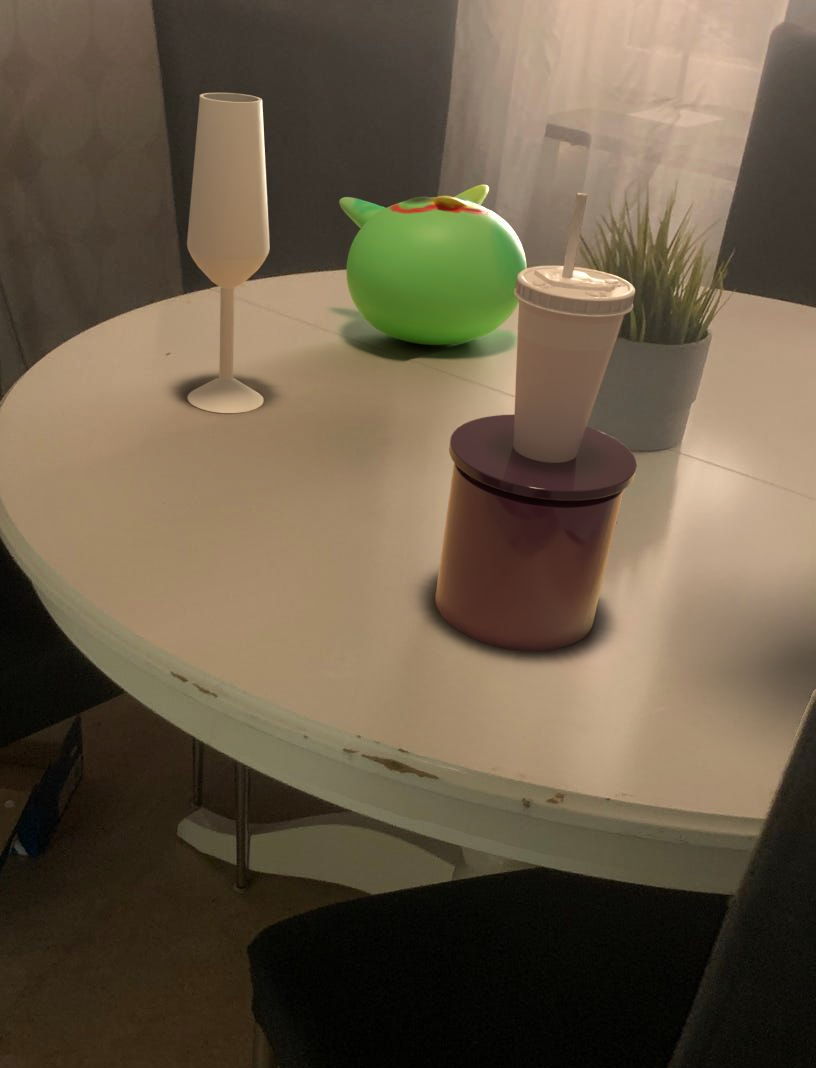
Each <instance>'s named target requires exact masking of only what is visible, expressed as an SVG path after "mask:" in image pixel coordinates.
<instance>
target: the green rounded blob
mask: <svg viewBox="0 0 816 1068" xmlns="http://www.w3.org/2000/svg"><path fill="white" fill-rule="evenodd" d="M489 192H490V187H489V186H488V185H487V184H479V185H476V186H473V187H471V188H469V189H466V190H465V191H462V192H461V193H458V194H457V195H455V196H450V195H438V196H436V197H435V196H433V197H429V196H417V197H413V198H412V197H411V198H409V199H407V200H404V201H401V202H397V203H395V204H393V205H390V206H387V207H384V206H381V205H378V204H376V203H372V202H369V201H366V200H363V199H360V198H356V197H350V196H344V197H342V198H340V199H339V201H338V204H339V206H340V208H341V209H342V211H343V212H344V213H345V214H346V215H347V216H348V217H349V218H350V219H351V220H352V222H353V223H354V224H355V225H356V226H357V227H358V228H359V230H358V231H357V233H356V234H355V236H354V239H353V240H352V243H351V245H350V247H349V251H348V255H347V259H346V271H345V272H346V282H347V287H348V291H349V294H350V298H351V299H352V302H353V304H354V306H355V308H356V309H357V310H358V312H359V314H360V315H361V316H362V317H363V318H364V320H366V321H367V323H369V324H370V326H372V327H374V329H376V330H378V331H380V332H382V333H383V334H385V335H387V336H390V337H391V338H395V339H398V340H400V341H403V342H407V343H412V344H417V345H424V346H450V345H456V344H457V345H458V344H462V343H467V342H470V341H473V340H476V339H479V338H482V337H484V336H486V335H488V334H490V333H491V332H493V331H495V330H496V329H498V328H499V327H500V326H502V325H503V324H504V323H505V322H506V321H507V320H508V319H509V318H510V317H511V316H512V314H513V313H514V312H515V310H516V309H517V307H518V306H519V300H518V299H517V297H516V296H515V295H514V289H515V288H516V282H517V275H518V274H519V273H520V272H521V271H523V270H525V269H528V268H527V259H526V254H525V250H524V248H523V244H522V242H521V240H520V239H519V236H518V235H517V233H516V232H515V230H514V229H513V228H512V226H511V225H510V224H509V223H508V222H507V221H506V220H505V219H503V218H502V217H501V216H500V215H498V214H497V213H495V212H494V211H493V210H490V209H488V208H486V207H484V206H482V204H483V203H484V201H485V199H486V198H487V195H488V193H489Z"/></svg>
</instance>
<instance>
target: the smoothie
mask: <svg viewBox="0 0 816 1068" xmlns="http://www.w3.org/2000/svg"><path fill="white" fill-rule="evenodd" d="M587 198H588V193H585V192H577V193H576V194H575V199H574V205H573V206H574V207H573V211H572V216H571V221H570V228H569V233H568V239H567V244H566V250H565V256H564V261H563V265H539V266H533V267H528V268H527V269H525V270H523V271H521V272H520V273H519V274H518V275H517V282H516V288H515V289H514V295H515V296H516V297H517V299H518V300H519V303H518V314H517V315H518V317H517V342H516V364H515V390H514V391H515V393H514V413H513V415H514V440H513V447H514V449H515V450H516V451H517V452H518V453H519V454H521V455H522V456H524V457H527V458H529V459H533V460H536V461H541V462H549V463H560V462H567V461H570V460H572V459H574V458H575V457H576V456H577V453H578V450H579V447H580V444H581V441H582V438H583V435H584V432H585V429H586V426H588V423H589V420H590V417H591V414H592V412H593V408H594V406H595V403H596V400H597V397H598V394H599V391H600V388H601V385H602V382H603V379H604V376H605V374H606V370H607V367H608V365H609V362H610V360H611V359H610V358H611V356H612V353H613V350H614V347H615V344H616V342H617V339H618V335H619V333H620V329H621V326H622V323H623V320H624V317H625V315H627V314H628V313H630V312H632V311H633V309H634V304H633V303H634V298H635V294H636V289H635V286H634V285H633V284H632V283H630V282H629V281H627V280H626V279H624V278H622V277H619V276H618V275H615V274H612V273H608V272H605V271H601V270H598V269H597V270H596V269H592V268H586V267H579V266H575V264H576V259H577V253H578V248H579V242H580V237H581V231H582V226H583V220H584V216H585V209H586V203H587Z"/></svg>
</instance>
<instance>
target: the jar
mask: <svg viewBox="0 0 816 1068" xmlns="http://www.w3.org/2000/svg"><path fill="white" fill-rule="evenodd" d="M513 440H514V414H499V415H497V414H496V415H488V416H484V417H480V418H475V419H473V420H470V421H467V422H464V423H463V424H461V425H460V426H458V427H457V428H456V429H455V430H454V431H453V432H452V434H451V436H450V439H449V446H448V447H449V448H448V451H449V452H448V453H449V457H450V458H451V460H452V462H453V468H452V473H451V474H452V475H451V482H450V488H449V495H448V502H447V510H446V517H445V523H444V524H445V526H444V532H443V540H442V545H441V546H442V547H441V552H440V560H439V568H438V576H437V582H436V589H435V596H434V597H435V598H434V599H435V605H436V608H437V610H438V612H439V613H440V615H441V616H442V617H443V619H444V620H445V621H446V622H447V623H448V624H450V626H452V628H453V627H454V628H455V629H456V630H457V631H459V632H461V633H463V634H464V635H466V636H468V637H471V638H473V639H475V640H478V641H480V642H482V643H485V644H489V645H492V646H495V647H501V648H505V649H512V650H516V651H517V650H519V651H520V650H521V651H547V650H549V651H550V650H555V649H560V648H564V647H567V646H570V645H572V644H575V643H578V642H579V641H580V640H582V639H583V638H584V637H586V636H587V635H588V634H589V633H590V631H591V630H592V628H593V625H594V621H595V616H596V613H597V608H598V603H599V599H600V596H601V591H602V586H603V582H604V579H605V574H606V569H607V566H608V561H609V556H610V552H611V548H612V545H613V544H612V543H613V540H614V539H613V538H614V535H615V530H616V526H617V522H618V518H619V514H620V510H621V505H622V501H623V496H624V492H625V490H626V489H627V488H628V487H629V486H630V485H631V484H632V483H633V481H634V479H635V477H636V473H637V467H638V466H637V465H638V464H637V458H636V457H635V456H634V453H633V452H632V451H631V449H629V448H628V447H627V445H625V444H624V443H622V442H621V441H619V440H618V439H616V438H615V437H613V436H611V435H609V434H607V433H605V432H603V431H601V430H598V429H596V428H594V427H591V426H588V425H587V426H586V429H585V432H584V435H583V438H582V441H581V444H580V447H579V450H578V453H577V456H576V457H575V458H574V459H572V460H570V461H567V462H560V463H549V462H541V461H536V460H533V459H529V458H527V457H524V456H522V455H521V454H519V453H518V452H517V451H516V450H515V449H514V447H513Z"/></svg>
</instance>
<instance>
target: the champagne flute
mask: <svg viewBox="0 0 816 1068" xmlns="http://www.w3.org/2000/svg"><path fill="white" fill-rule="evenodd" d="M263 110H264V108H263V99H262V98H261V97H258V96H254V95H251V94H243V93H236V92H235V93H234V92H205V93H201V94H199V103H198V114H197V124H196V126H197V127H196V135H195V147H194V148H195V150H194V159H193V170H192V182H191V192H190V203H189V204H190V205H189V213H188V214H189V216H188V226H187V227H188V228H187V238H186V247H187V251H188V253H189V254H190V256H191V259H192V260H193V262H194V263H195V264H196V266H197V268H199V270H200V271H201V272H202V273H203V274H204V275H205V276H206V277H207V278H208V279H209V280H210V281H211V282H212V283H213V284H215V285H216V286H218V287H219V288H220V304H219V305H220V306H219V307H220V309H219V311H220V312H219V372H218V373H219V376H218V377H216V378H215V379H212V380H210V381H208V382H206V383H205V384H203V385H201V386H199V387H197V388H194V389H193V390H191V391H190V392H189V393H188V394H187V401H188V402H189V403H190V405H192V406H194V407H195V408H198V409H200V410H203V411H207V412H212V413H219V414H240V413H246V412H249V411H253V410H256V409H258V408H260V407H261V406H262V405H263V404H264V397H263V395H261V394H260V393H259V392H258V391H256V390H255V389H253V388H251V387H249V386H248V385H246V384H244V383H243V382H241V381H240V380H238V379H236V378H235V377H234V344H235V343H234V342H235V338H234V337H235V296H236V295H235V294H236V293H235V292H236V288H237V287H239V286H241V285H243V284H244V283H245V282H246V281H248V280H249V279H250V278H251V277H252V276H253V275H254V274H255V273H256V272H257V271H258V270H259V269H260V268H261V266H262V265H263V264H264V262H265V261H266V259H267V257H268V255H269V253H270V249H271V248H270V247H271V245H270V226H269V207H268V206H269V205H268V189H267V187H268V186H267V169H266V168H267V167H266V152H265V148H266V147H265V131H264V130H265V129H264V112H263Z"/></svg>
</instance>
